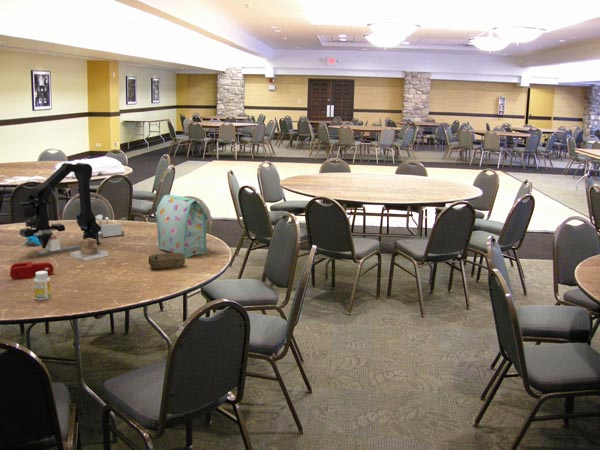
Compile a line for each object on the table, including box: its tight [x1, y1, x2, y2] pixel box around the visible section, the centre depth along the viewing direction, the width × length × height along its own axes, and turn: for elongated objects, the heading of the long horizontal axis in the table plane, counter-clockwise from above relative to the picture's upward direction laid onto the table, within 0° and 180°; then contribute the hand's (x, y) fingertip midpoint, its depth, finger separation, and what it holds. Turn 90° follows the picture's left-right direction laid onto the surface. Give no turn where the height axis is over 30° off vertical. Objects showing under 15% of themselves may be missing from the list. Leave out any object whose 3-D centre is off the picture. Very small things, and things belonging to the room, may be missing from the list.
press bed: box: [69, 248, 109, 262], centre depth 275 cm, size 12×12×2 cm
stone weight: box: [148, 252, 186, 270], centre depth 259 cm, size 15×7×7 cm, turn 123°
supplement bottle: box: [33, 271, 52, 301], centre depth 217 cm, size 5×5×10 cm
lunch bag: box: [155, 194, 209, 259], centre depth 284 cm, size 23×16×27 cm
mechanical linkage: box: [9, 261, 54, 281], centre depth 244 cm, size 16×7×5 cm, turn 114°
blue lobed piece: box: [25, 235, 41, 246], centre depth 292 cm, size 11×6×10 cm
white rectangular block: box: [46, 235, 61, 251], centre depth 278 cm, size 4×4×6 cm
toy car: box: [95, 214, 125, 239], centre depth 317 cm, size 18×10×12 cm
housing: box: [80, 238, 98, 255], centre depth 274 cm, size 5×5×7 cm
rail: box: [36, 244, 81, 257], centre depth 281 cm, size 20×3×1 cm, turn 139°
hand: (44, 248), depth 275 cm, fingers closed
